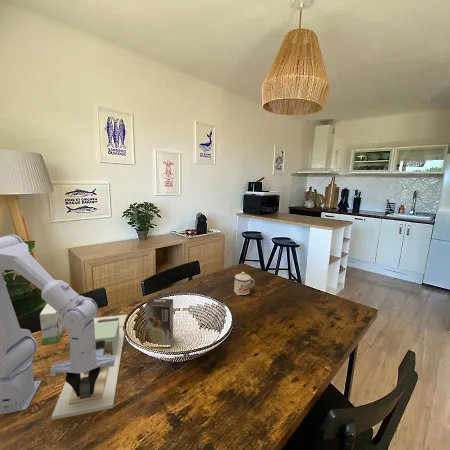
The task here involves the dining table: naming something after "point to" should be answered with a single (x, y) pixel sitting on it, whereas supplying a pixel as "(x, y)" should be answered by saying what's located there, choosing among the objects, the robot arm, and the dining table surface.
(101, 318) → the deck
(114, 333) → the tunnel
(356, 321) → the dining table surface
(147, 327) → the coffee box
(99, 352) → the block
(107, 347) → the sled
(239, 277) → the teacup with lid
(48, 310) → the ink box
